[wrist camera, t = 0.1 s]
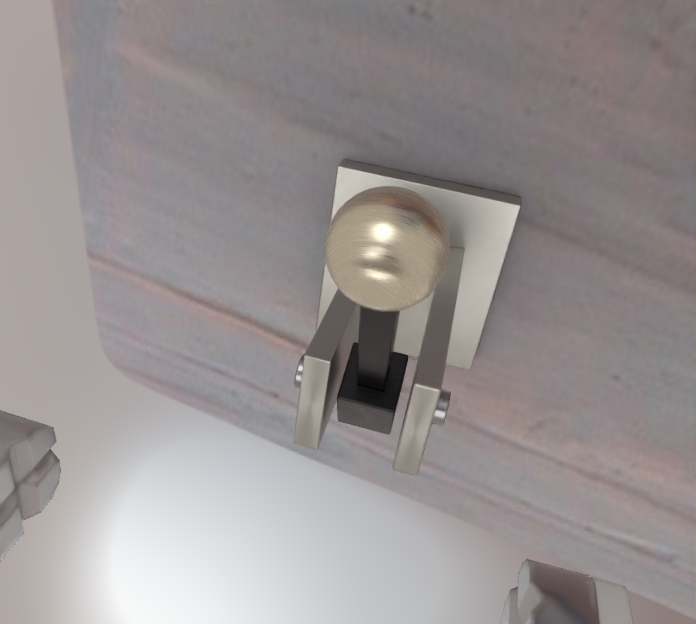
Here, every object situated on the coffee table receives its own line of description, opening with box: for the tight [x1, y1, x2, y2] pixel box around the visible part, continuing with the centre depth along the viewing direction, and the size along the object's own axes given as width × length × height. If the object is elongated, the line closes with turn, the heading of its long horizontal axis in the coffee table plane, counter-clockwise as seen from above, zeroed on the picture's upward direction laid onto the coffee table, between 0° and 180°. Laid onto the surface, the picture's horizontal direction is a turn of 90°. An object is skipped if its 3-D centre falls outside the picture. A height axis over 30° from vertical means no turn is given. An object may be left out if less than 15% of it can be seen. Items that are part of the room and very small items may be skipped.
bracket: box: [294, 159, 521, 476], centre depth 29 cm, size 10×9×13 cm
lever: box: [325, 186, 450, 434], centre depth 21 cm, size 13×3×3 cm, turn 171°
